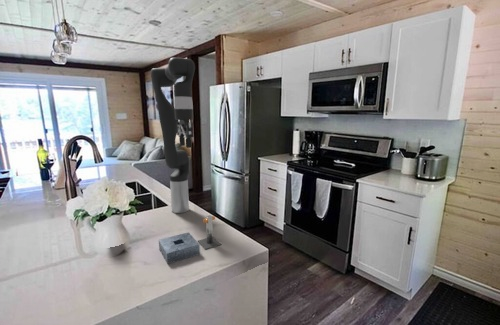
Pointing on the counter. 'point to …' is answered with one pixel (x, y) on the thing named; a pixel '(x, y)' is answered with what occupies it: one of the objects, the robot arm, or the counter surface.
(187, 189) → the robot arm
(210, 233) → the chuck key
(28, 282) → the counter surface
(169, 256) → the block
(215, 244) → the mat
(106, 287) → the counter surface
